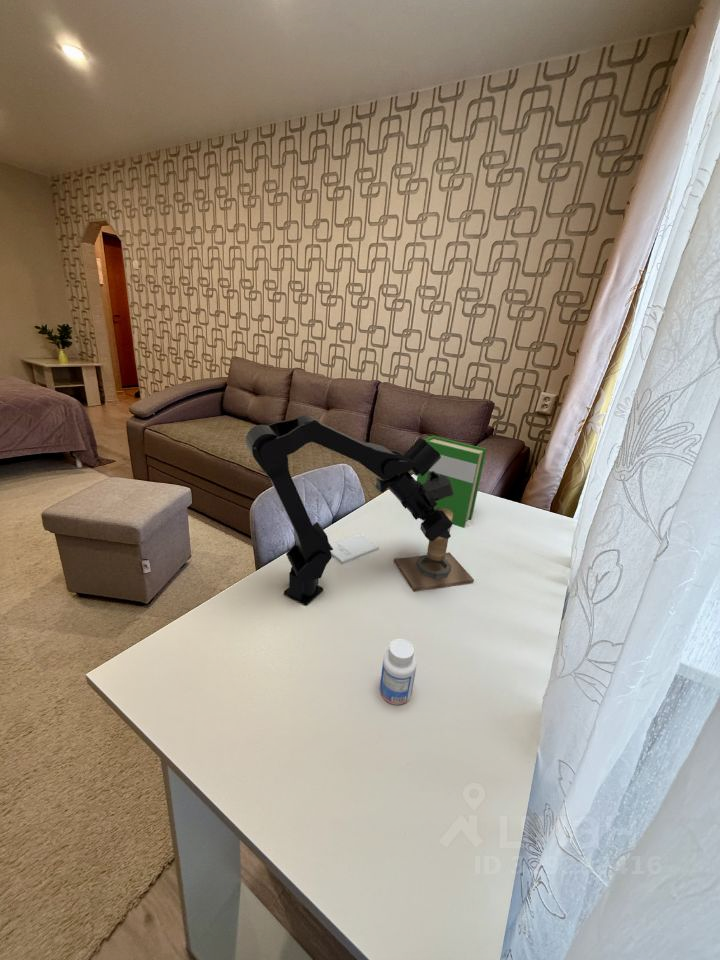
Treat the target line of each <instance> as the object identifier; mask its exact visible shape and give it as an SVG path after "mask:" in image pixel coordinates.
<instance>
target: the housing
mask: <svg viewBox="0 0 720 960" xmlns="http://www.w3.org/2000/svg"><path fill="white" fill-rule="evenodd" d="M393 562H394V564H395V566H396V567H397V568H398V570H399V572H400V573H401V575H402V577H404V579H405V581H406V583H407V584H408V586H409V587H410V589H411V590H412V592H413V593H414V592H421V591H427V590H434V589H443V588H448V587H450V588H451V587H455V586H463V585H469V584H474V582H475V579H474V578H473V577H472V575H471V574H470V573H469V572H468V570H466V569H465V568H464V566H463V565H462V564H461V563H460V562H459V561H458V560H457V558H455V556H453V555H452V553H451V552H450V551H449V552H446V554H445V559H444V560H441V561H435V560H432V559H430V558H429V557H428V556H427V554H423V555H414V556H409V557H408V556H407V557H398V558H394V561H393Z"/></svg>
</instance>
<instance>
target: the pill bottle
mask: <svg viewBox="0 0 720 960" xmlns="http://www.w3.org/2000/svg"><path fill="white" fill-rule="evenodd" d="M417 664H418V663H417V659H416V657H415V648H414V645H413V644H412V642H410V641H409V640H407V639H404V638H395V639H393V640H392V641H391V642H390V643H389V646H388V649H387V651H386V652H385V653H384V655H383V659H382V665H381V666H382V668H381V676H380V684H379V689H380V690H379V691H380V695H381V696H382V697H383V699H384V700H386V702H388V703H390V704H392V705H403V704H405V703H407V702H408V701H410V699H411V697H412V694H413V689H414V682H415V677H416V670H417Z"/></svg>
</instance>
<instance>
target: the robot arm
mask: <svg viewBox="0 0 720 960" xmlns="http://www.w3.org/2000/svg"><path fill="white" fill-rule="evenodd" d="M246 434H247V435H246V436H245V443H246V446H247V448H248V450H249V452H250V454H251V455H252V457H253V458H254V460H255V462H256V463H257V464H258V466H259V467H260V468H261V469H262V470H263V472H264V474H266V476H267V477H268V478H269V480H270V482H271V484H272V486H273V488H274V490H275V493H276V495H277V496H278V499H279V501H280V502H281V505H282V507H283V509H284V511H285V513H286V515H287V518H288V520H289V522H290V523H291V526H292V529H293V536H294V541H295V544H294V545H293V546H292V547H291V548H290V549H289V550H287V552H286V554H285V555H286V557H287V560H288V562H289V563H290V565H291V567H290V572H289V575H288V579H289V581H288V583H289V584H288V587H287V588H285V590H284V591H283V595H285V596H287V597H288V598H289V599H292V600H294V601H296V602H297V603H300V604H301V605H304V606H308V605H309V604H310V603H311V602H313V600H314V599H315V598H317V596H319V595H320V594H321V593H322V592H323V591H324V587H323V586H320V585H318V584H319V579H321V578H322V576H323V574H324V572H325V569H326V567H327V565H328V564H329V563H330V560H332V557H333V556H332V555H331V551H330V550H333V548H332V547H331V545H330V542H329V538H328V535H327V533H326V532H325V531H324V529H323V528H322V526H321V525H320V523H319V522H318V521H316V522H315V523H313V524H312V521H311V519H310V517H309V514H308V512H307V510H306V507H305V505H304V503H303V501H302V498H301V496H300V494H299V492H298V489H297V487H296V485H295V483H294V480H293V478H292V475H291V473H290V468H289V466H290V465H289V459H288V458H289V457H288V456H289V455H292V454H294V453H296V452H297V451H298V450H300V449H301V448H303V447H304V446H305V445H307V444H310V443H311V442H313V443H315V444H318V445H320V446H322V447H324V448H327V449H329V450H331V451H333V452H334V453H335V452H336V453H338V454H340V455H343V456H344V457H347V458H349V459H351V460H352V461H355V462H357V463H359V464H361V465H362V466H364V467H365V468H366V469H368V470H369V471H370V472H371V473H373V474H374V475H375V476H377V477H376V478H375V479H376V482H375V483H376V484H375V489H376V490H377V491H379V492H380V493H381V494H384V492H385V491H387V490H389V491H390V492H391V493H392V494H393V495H394V497H396V499H397V500H398V501H399V502H400V504H401V506H402V507H403V508H404V509H405V510H406V509H407V510H408V512H409V513H411V516H412V517H413V518H414V519H415V521H418V519H419V520H421V521H422V522H420V530H421V532H422V534H423V535H424V537H425V538H426V539H427V540H428V542H429V541H434V540H435V539H436V538H438V537H442V538H446V539H448V538H449V539H450V538H451V537H452V535H451V533H449V531H448V529H449V528H450V527H451V528H452V527H453V523H452V522H451V520H450V519H449V518H448V517H447V515H446V514H445V513H444V512H443V511H439V510H434V507H435V506H436V505H437V503H436V501H437V500H440V499H443V498H445V497H448V496H449V497H450V496H452V495H453V494H454V492H453V489H452V485H451V482H450V480H449V479H448V478H447V477H446V476H444V475H442V474H440V476H439V475H438V474H437V473H435V472H434V471H432V472H429V473H428V476H427V480H426V483H424V484H421V483H420V482H419V481H418V482H417V479H415V478H414V477H413V476H412V474H413V475H414V476H415V477H417V475H418V474H419V475H420V476H421V477H422V476H424V475H425V474H426V473H427V471H428V470H429V469H430V468H431V467H432V466H433V465H434V464H435V463H436V462H437V461H438V460H439V459H440V458H441V455H440V454H439V452H438V451H436V450H435V449H434V448H433V447H432V446H431V445H429V444H428V443H427V442H426V440H425V439H424V438H423V437H419V438H418V439H417V440H416V441H415V442H414V443H413V445H412V446H411V447H410V448H409V449H408V450H407V451H405V453H404V454H403V453H402V452H399V450H391V449H390V450H389V449H388V448H386V447H385V446H384V445H382V444H381V445H380V444H376V443H373V442H364V441H361V440H359V439H356V438H354V437H352V436H350V435H348V434H345V433H343V432H342V431H339V430H337V429H335V428H333V427H331V426H329V425H327V424H325V423H323V422H320V421H318V420H317V419H316V418H314V417H313V416H311V415H309V414H308V415H307V414H306V415H304V414H303V415H300V416H298V417H295V418H292V419H286V420H281V421H280V420H279V421H276V422H273V423H270V424H268V425H266V424H257V425H255V426H253V427H251V428H250V429H249V431H248V432H247V433H246ZM451 528H450V529H451ZM449 539H448V540H449Z"/></svg>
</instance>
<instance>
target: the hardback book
mask: <svg viewBox="0 0 720 960" xmlns="http://www.w3.org/2000/svg"><path fill="white" fill-rule="evenodd" d="M424 440H426V442H427V443H428V444H429V445H431V446H432V447H433V448H434V449H435V450H436V451H438V452H439V454H440V455H441V458H440V459H439V460H438V461H437V462H436V463H435V464H434V465H433V466H432V467H431V468H430V469H429V470H428V471H427V473H426V474H425V475H424V476H422V477H421V476H420V475H419V474H418V475H417V476H416V481H417V482H418V481H419V482H420V483H421V484H424V483H426V480H427V476H428V473H429V472H432V471H434V472H435V473H437V474H438V475H439V476H440V474H442V475H444V476H446V477H447V478H448V479H449V480H450V482H451V485H452V489H453V492H454V494H453V495H452V496H450V497H449V496H448V497H445V498H443V499H440V500H437V501H436V503H437V505H436V506H435V507H434V510H435V509H436V508H446V509H449V510H451V511H452V512H453V518H452V523H453V524H452V526H453V525H454V526H457V527H460V528H462V529H464V528H465V526H466V522H467V521H468V520H469V521H471V520H472V518H473V514H474V511H475V505H476V500H477V497H478V496H477V495H478V491H479V486H480V483H481V479H482V478H481V477H482V472H483V469H484V463H485V459H486V453H487V449H488V448H485V447H481V446H476V445H472V444H468V443H464V442H460V441H456V440H452V439H448V438H443V437H439V436H435V435H432V436H431V435H430V436H429V437H427V438H425V439H424Z"/></svg>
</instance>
